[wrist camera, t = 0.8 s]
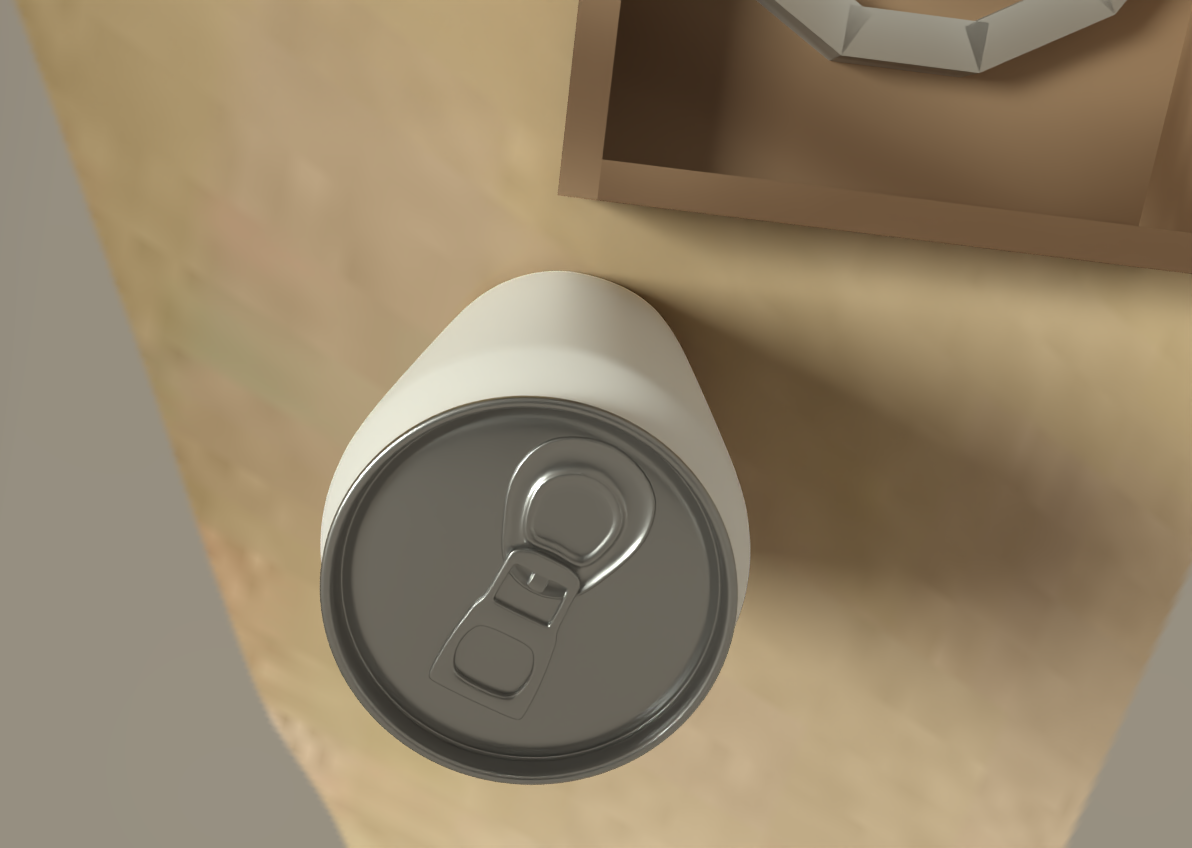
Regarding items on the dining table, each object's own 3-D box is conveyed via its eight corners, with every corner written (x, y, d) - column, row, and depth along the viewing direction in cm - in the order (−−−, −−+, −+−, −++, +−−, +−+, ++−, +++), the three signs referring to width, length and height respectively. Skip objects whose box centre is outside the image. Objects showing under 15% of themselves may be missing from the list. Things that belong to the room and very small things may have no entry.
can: (740, 345, 25) (862, 506, 14) (614, 566, 27) (627, 883, 15) (502, 218, 24) (413, 272, 13) (385, 452, 26) (210, 692, 14)
